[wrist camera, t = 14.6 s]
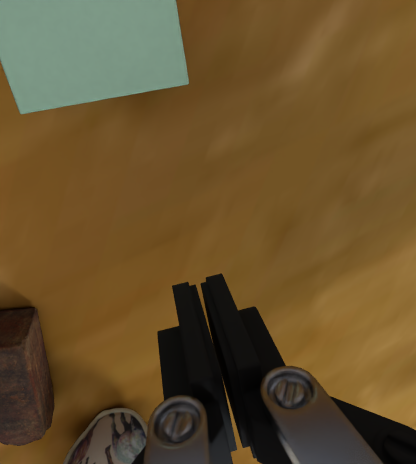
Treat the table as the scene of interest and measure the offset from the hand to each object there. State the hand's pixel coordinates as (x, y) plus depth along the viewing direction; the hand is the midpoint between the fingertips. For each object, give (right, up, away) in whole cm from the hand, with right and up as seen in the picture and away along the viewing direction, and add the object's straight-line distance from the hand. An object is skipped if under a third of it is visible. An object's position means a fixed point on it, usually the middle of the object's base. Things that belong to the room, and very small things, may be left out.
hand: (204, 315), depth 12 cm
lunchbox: (-5, +12, +4) cm, 14 cm away
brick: (-15, -8, +19) cm, 26 cm away
